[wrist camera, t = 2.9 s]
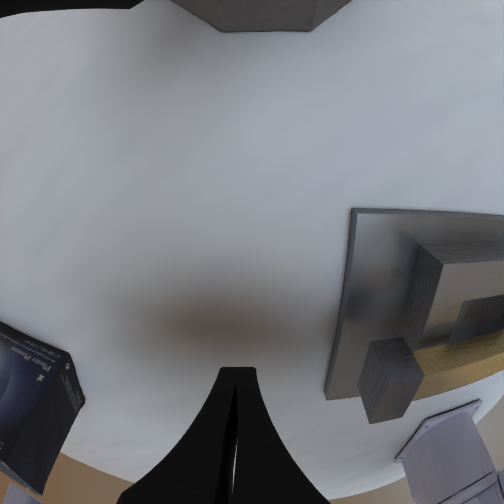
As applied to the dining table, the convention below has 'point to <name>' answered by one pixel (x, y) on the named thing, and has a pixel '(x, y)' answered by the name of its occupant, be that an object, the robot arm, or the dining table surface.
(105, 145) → the dining table surface
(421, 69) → the dining table surface
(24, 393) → the small box
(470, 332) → the dock
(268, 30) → the coffeepot
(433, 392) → the pin
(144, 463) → the dining table surface
